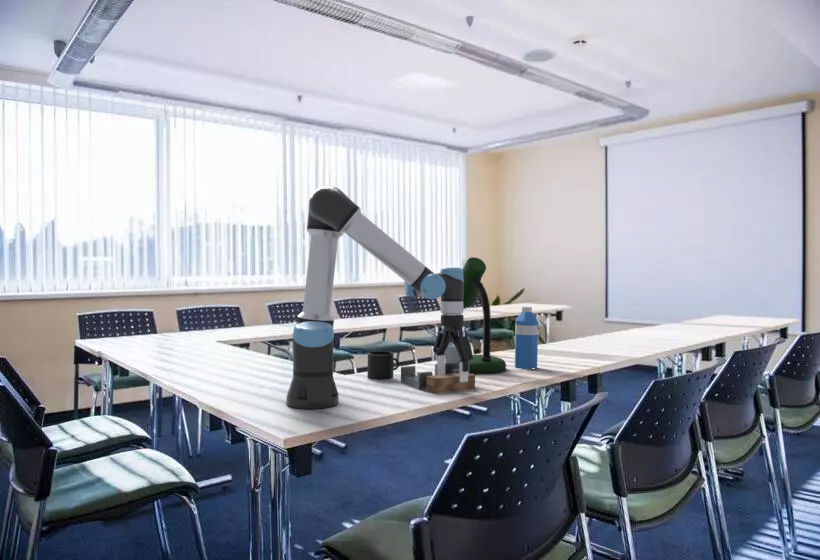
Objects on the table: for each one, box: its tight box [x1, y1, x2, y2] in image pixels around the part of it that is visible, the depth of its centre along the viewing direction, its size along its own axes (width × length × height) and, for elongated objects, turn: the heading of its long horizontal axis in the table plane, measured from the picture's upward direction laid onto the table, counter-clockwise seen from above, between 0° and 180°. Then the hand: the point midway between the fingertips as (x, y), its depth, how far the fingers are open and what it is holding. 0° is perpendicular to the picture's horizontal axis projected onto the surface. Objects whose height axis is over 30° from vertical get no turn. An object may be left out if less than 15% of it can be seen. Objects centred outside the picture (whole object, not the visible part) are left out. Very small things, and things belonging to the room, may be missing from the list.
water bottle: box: [514, 306, 539, 370], centre depth 228 cm, size 9×9×25 cm
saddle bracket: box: [400, 365, 433, 391], centre depth 191 cm, size 5×13×6 cm, turn 29°
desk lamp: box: [461, 256, 507, 375], centre depth 227 cm, size 31×23×45 cm
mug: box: [366, 350, 400, 381], centre depth 204 cm, size 9×12×9 cm
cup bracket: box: [434, 344, 469, 376], centre depth 198 cm, size 6×13×12 cm, turn 29°
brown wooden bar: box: [425, 373, 476, 394], centre depth 185 cm, size 16×4×5 cm, turn 116°
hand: (452, 378), depth 185 cm, fingers open, 13 cm apart
